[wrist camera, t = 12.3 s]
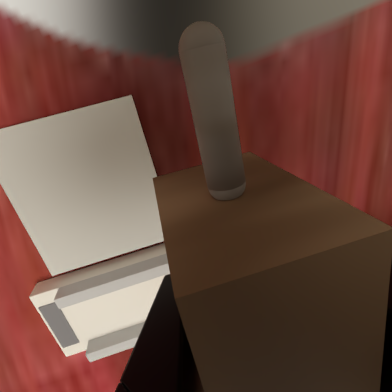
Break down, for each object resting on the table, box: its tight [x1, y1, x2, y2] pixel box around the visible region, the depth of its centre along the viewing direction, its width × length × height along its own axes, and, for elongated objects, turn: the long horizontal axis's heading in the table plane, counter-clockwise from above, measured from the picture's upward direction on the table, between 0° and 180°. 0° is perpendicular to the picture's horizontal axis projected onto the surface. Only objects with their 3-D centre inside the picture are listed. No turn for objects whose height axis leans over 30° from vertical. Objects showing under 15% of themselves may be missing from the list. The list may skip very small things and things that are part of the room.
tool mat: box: [0, 95, 164, 276], centre depth 18 cm, size 9×10×1 cm
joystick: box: [153, 21, 392, 392], centre depth 6 cm, size 3×9×5 cm, turn 12°
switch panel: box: [29, 243, 170, 362], centre depth 20 cm, size 20×6×3 cm, turn 104°
